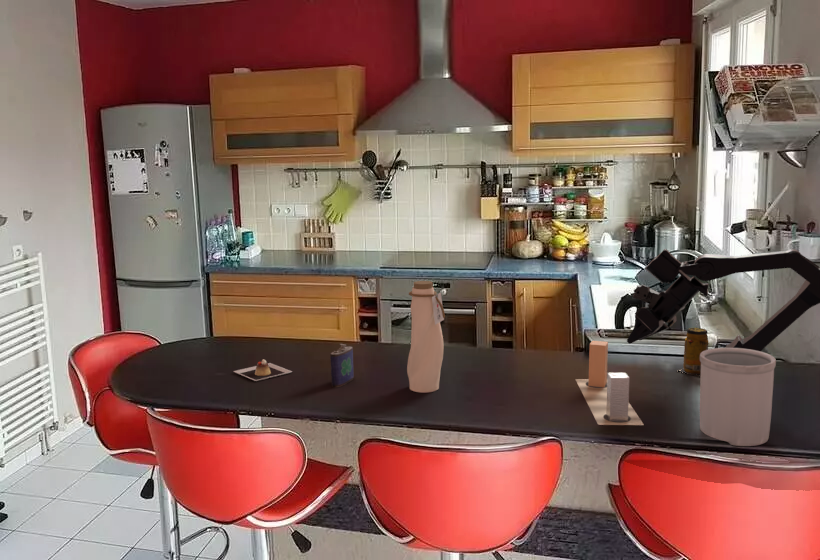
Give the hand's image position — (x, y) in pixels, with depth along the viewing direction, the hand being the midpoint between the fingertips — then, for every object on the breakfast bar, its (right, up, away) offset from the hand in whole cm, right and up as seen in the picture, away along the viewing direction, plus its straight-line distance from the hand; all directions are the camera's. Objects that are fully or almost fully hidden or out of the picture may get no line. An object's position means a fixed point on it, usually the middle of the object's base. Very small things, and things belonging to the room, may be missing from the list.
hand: (633, 340), depth 188 cm
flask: (-74, -12, +13) cm, 76 cm away
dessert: (-98, -12, +22) cm, 101 cm away
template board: (-8, -15, -6) cm, 18 cm away
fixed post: (-9, -16, -18) cm, 26 cm away
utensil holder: (+13, -18, -27) cm, 35 cm away
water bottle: (-52, -13, +7) cm, 54 cm away
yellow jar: (+23, -10, +17) cm, 30 cm away
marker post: (-8, -12, +5) cm, 15 cm away
